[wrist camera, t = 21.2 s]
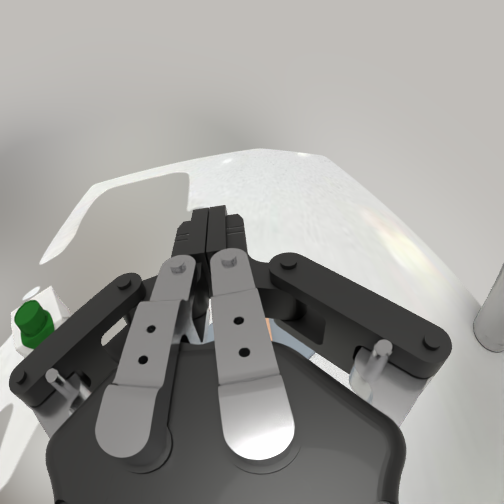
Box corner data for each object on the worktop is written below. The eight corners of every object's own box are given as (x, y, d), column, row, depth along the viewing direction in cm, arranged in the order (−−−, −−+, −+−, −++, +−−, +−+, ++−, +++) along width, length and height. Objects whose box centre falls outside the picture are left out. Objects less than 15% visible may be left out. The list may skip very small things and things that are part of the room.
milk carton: (89, 423, 32) (1, 343, 20) (70, 383, 37) (-1, 300, 25) (131, 395, 36) (58, 303, 24) (107, 358, 42) (46, 267, 30)
